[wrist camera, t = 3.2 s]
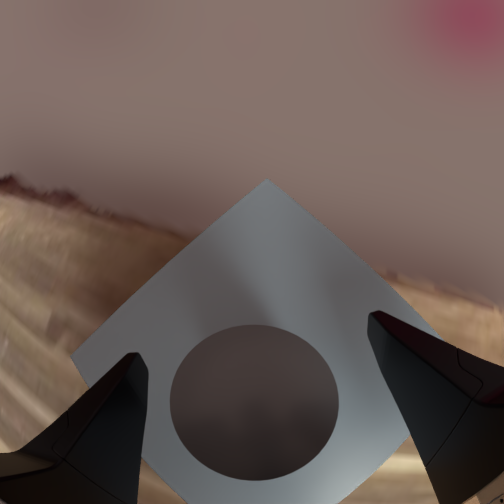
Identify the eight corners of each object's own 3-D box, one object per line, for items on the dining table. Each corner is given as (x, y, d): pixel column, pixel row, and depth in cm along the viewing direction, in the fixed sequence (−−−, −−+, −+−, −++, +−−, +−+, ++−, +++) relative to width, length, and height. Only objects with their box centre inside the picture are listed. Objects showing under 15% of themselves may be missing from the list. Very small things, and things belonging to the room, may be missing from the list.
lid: (443, 363, 12) (569, 343, 4) (258, 536, 10) (243, 645, 1) (267, 198, 17) (260, 64, 8) (90, 358, 14) (-37, 335, 6)
